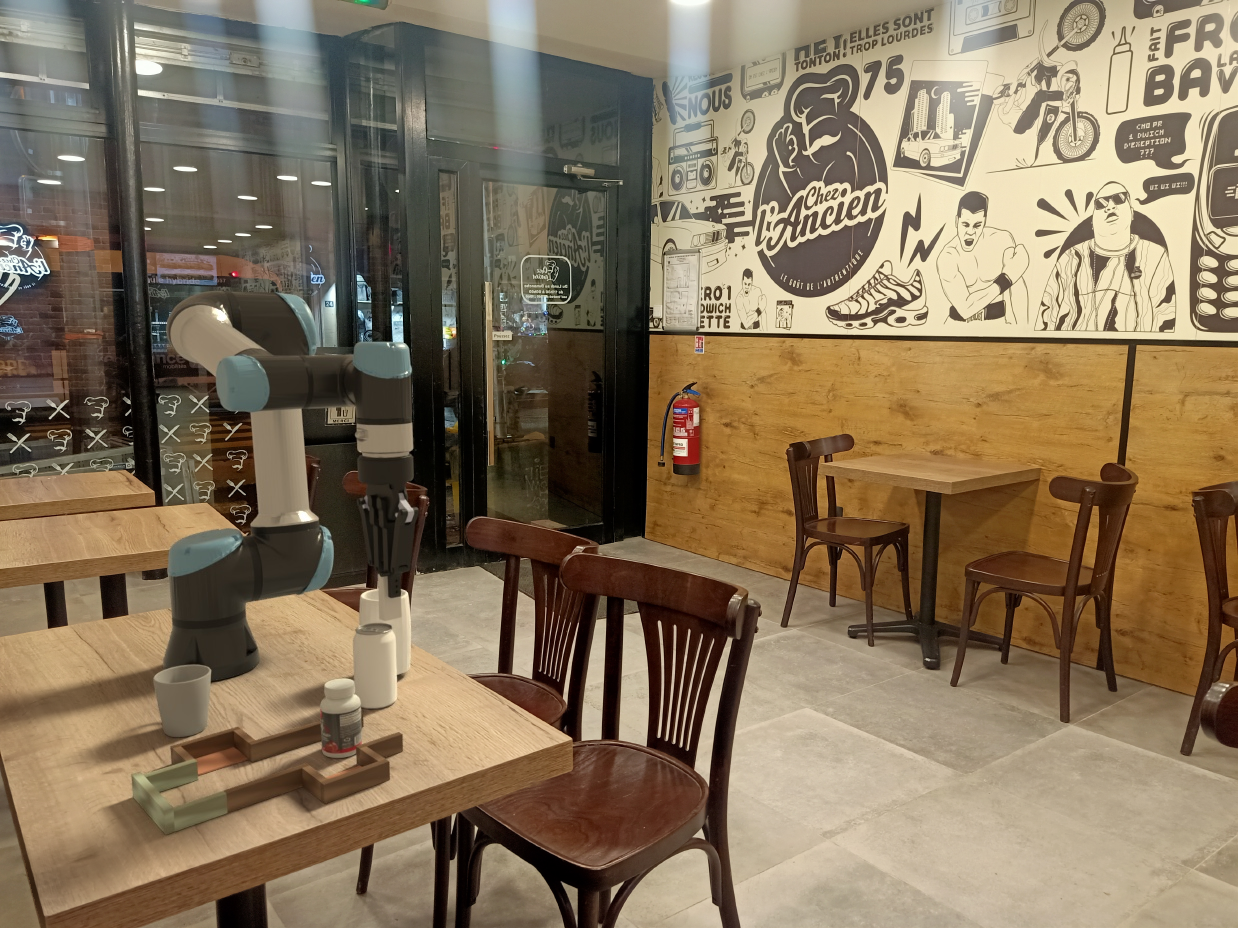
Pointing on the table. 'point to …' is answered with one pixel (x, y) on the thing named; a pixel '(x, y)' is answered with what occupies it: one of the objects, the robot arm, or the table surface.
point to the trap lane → (241, 747)
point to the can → (375, 665)
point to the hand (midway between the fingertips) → (390, 617)
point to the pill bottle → (340, 719)
